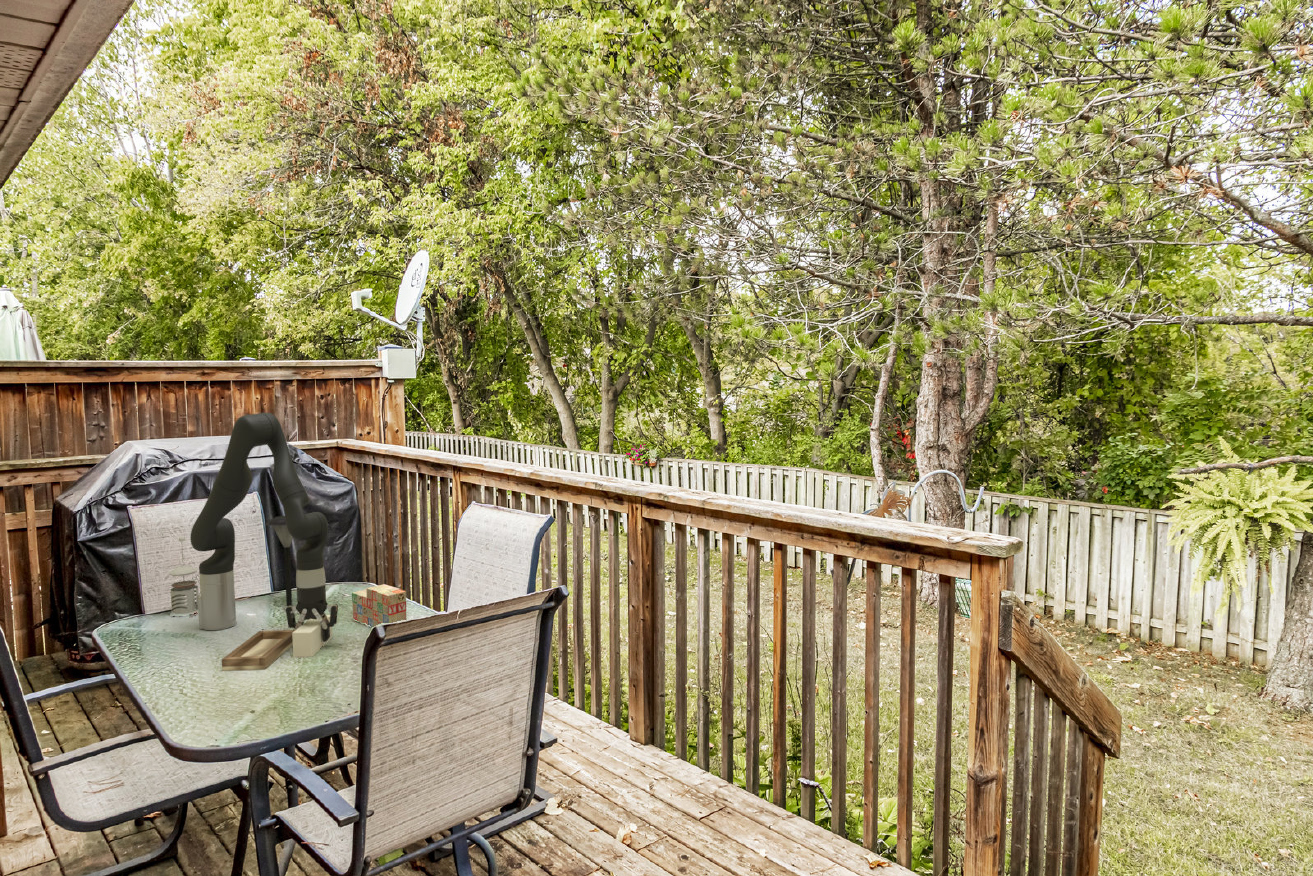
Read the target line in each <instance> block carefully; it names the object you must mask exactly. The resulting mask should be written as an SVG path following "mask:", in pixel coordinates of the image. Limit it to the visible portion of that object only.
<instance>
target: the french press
mask: <svg viewBox="0 0 1313 876" xmlns="http://www.w3.org/2000/svg"><path fill="white" fill-rule="evenodd" d="M177 539H178V542H181V544H183V542H185V541H186V538H185V537H184V536H181V537H179V538H177ZM181 557H182V558H181V559H182V560H181V561H182V562H184V551H183V547H181ZM198 571H199V568H196V567H194V566H188V565H187V566H185V565H181V566H179V567H176V568H174V569H172V570H170V571H169V572H168V574H169V576H173V577H179V576H181V577H182V576H183V581H176V582H173V583H172V584H171V587H172V588H171V589H170V602H171V603H170V604H171V608H170V609H171V611H172V613H175V614H194V613H196V612H198V598H200V597H201V594H200V592H199V586H198V585H197V583H199V584H200V579H198V577H199V578H200V575H198V574H197V575H196V576H192V580H185V576H188V575H193V574H195V573H197V572H198ZM197 581H198V582H197ZM174 609H175V610H174Z"/></svg>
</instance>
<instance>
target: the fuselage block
mask: <svg viewBox="0 0 1313 876" xmlns="http://www.w3.org/2000/svg"><path fill="white" fill-rule="evenodd" d="M326 616H327V619H328V621H329V622H330V614H326ZM323 629H324V628H323V627H322V625H321V623H319V621H318V620H317V619H309V620H305V622H304V624H303V625H301V626H300V627H299V628H298V629H296V630H295V629H294V630H295V631H294V632H293V633H292V639H293V645H292V656H293V658H311V657H310V656H312V657H313V656H315V655H316V654H317V653H318V652H317V651H318V650H319V651H320V650H321V649H322V648H323V647H324V646H325V645H326V644H327V643H328V642H330V640H331V639H332V638H333V627H330V638H331V637H332V638H331V639H330V638H329V639H328V640H327V641H328V642H327V641H326V642H327V643H326V642H323ZM325 643H326V644H325ZM322 646H323V647H322ZM321 647H322V648H321ZM320 648H321V649H320ZM316 652H317V653H316Z"/></svg>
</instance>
